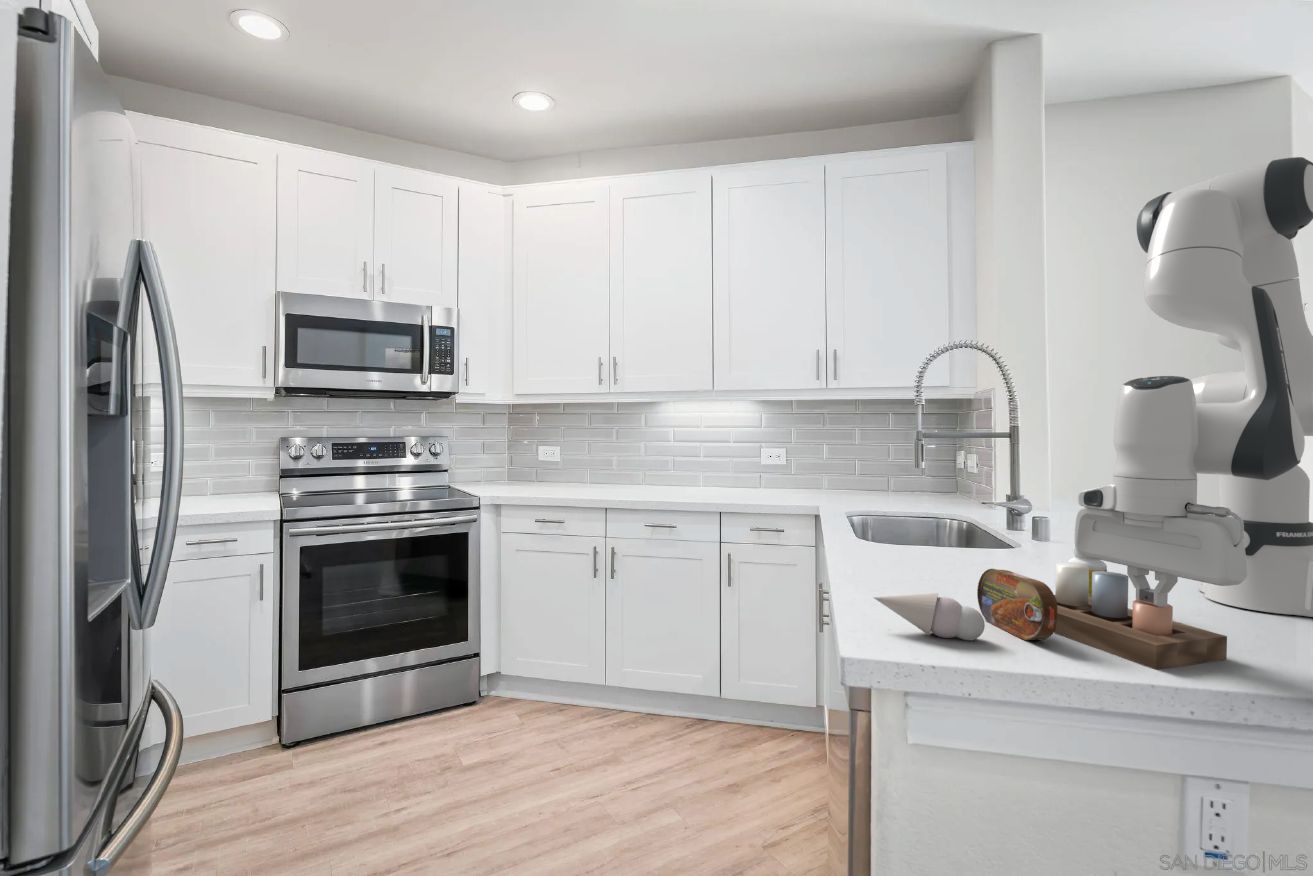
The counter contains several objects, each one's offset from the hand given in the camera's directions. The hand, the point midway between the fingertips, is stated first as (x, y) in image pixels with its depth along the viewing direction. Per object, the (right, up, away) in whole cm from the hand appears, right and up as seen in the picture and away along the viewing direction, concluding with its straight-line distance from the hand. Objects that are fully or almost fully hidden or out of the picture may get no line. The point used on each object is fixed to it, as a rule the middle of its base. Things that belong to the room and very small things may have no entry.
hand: (1151, 603), depth 86 cm
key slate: (-2, -3, +6) cm, 7 cm away
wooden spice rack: (-1, -6, +6) cm, 9 cm away
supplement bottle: (+6, -6, +21) cm, 23 cm away
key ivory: (-3, -3, +12) cm, 12 cm away
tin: (-13, -6, +9) cm, 17 cm away
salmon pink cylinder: (0, -6, 0) cm, 6 cm away
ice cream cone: (-27, -6, +7) cm, 28 cm away
